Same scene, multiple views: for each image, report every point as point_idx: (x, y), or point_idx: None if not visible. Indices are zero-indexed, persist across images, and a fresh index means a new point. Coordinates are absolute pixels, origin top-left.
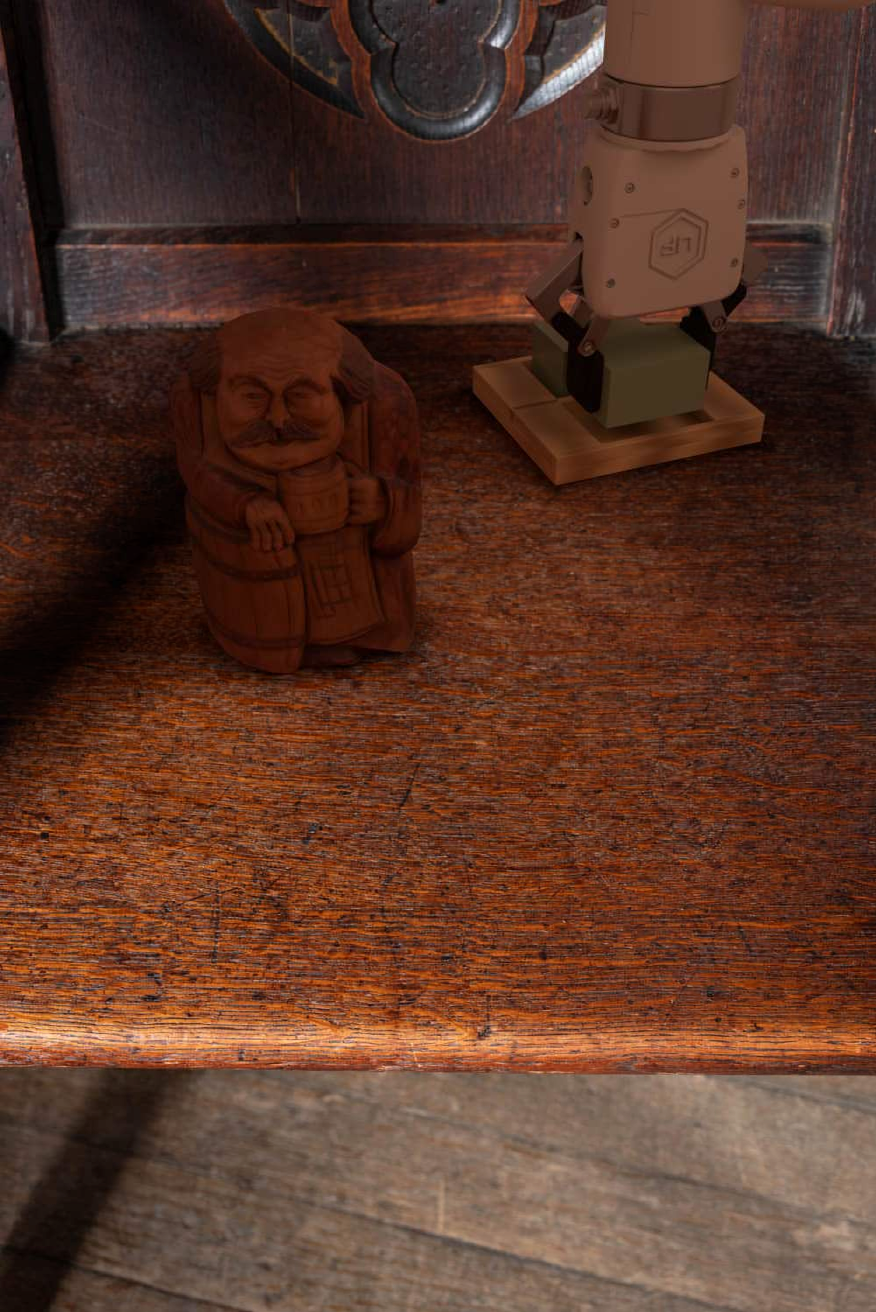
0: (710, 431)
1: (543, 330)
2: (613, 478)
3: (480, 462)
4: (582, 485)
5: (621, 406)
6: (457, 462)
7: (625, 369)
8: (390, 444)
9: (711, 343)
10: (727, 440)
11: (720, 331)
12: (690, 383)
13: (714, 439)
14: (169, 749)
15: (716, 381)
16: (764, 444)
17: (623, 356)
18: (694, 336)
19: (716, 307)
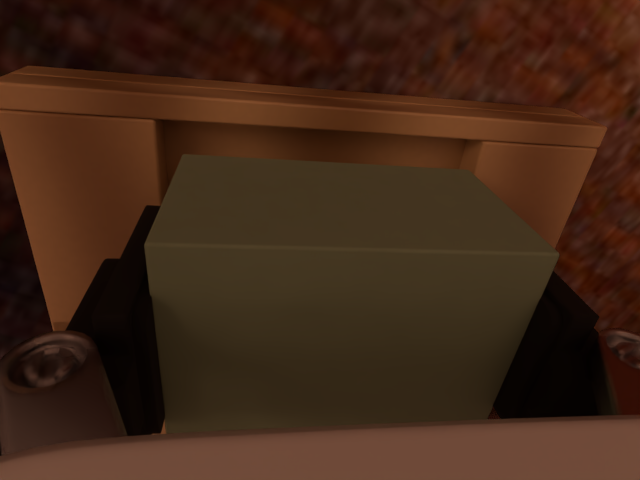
0: (184, 92)
1: None
2: (447, 81)
3: (594, 238)
4: (518, 86)
5: (456, 189)
6: (621, 252)
7: (506, 250)
8: None
9: (110, 295)
10: (130, 79)
11: (49, 332)
12: (232, 192)
13: (172, 84)
14: None
15: (59, 284)
16: (21, 50)
17: (452, 320)
18: (154, 351)
19: (41, 433)
